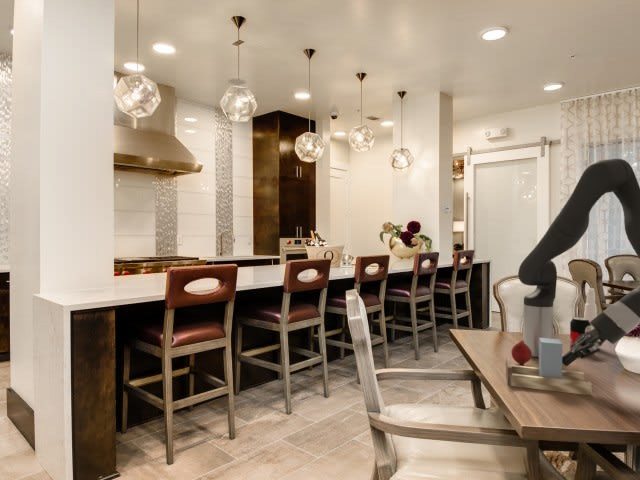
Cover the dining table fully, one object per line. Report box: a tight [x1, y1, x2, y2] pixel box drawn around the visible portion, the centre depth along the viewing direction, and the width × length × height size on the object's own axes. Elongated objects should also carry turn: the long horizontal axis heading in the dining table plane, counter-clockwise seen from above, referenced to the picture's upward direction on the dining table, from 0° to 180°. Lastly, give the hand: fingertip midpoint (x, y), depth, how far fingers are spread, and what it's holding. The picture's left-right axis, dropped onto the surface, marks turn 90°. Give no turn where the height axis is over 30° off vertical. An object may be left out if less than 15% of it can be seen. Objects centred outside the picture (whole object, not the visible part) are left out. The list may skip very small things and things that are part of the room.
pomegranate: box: [510, 339, 533, 366], centre depth 140 cm, size 6×6×8 cm
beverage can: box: [569, 316, 591, 350], centre depth 158 cm, size 6×6×12 cm
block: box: [538, 338, 563, 379], centre depth 122 cm, size 5×6×11 cm
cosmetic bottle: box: [583, 287, 600, 350], centre depth 165 cm, size 6×6×22 cm
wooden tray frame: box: [505, 357, 593, 396], centre depth 122 cm, size 20×10×5 cm, turn 70°
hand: (562, 363), depth 121 cm, fingers closed
